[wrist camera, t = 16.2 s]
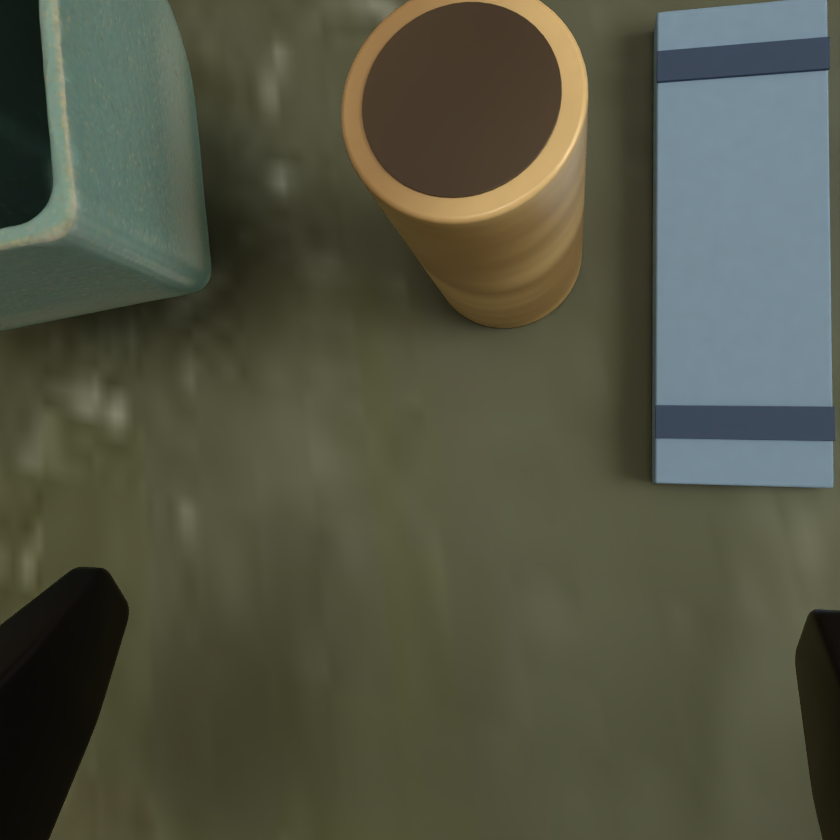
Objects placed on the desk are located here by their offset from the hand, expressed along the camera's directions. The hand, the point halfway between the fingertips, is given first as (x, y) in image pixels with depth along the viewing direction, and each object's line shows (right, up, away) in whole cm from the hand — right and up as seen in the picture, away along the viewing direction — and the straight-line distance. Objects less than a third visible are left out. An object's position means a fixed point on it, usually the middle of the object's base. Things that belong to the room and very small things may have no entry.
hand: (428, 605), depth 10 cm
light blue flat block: (+8, +7, +9) cm, 14 cm away
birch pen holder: (+2, +7, +11) cm, 13 cm away
